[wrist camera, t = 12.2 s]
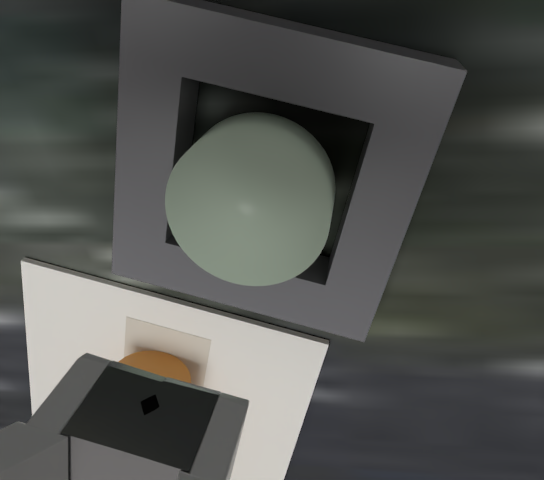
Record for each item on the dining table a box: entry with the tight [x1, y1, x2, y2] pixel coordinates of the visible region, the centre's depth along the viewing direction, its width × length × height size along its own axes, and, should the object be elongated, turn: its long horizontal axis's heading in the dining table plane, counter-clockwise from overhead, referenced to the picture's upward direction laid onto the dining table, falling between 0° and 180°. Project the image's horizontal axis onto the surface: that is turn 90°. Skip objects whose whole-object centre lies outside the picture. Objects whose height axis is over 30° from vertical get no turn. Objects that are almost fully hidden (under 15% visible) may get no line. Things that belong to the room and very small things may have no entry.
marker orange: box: [119, 351, 191, 383], centre depth 25 cm, size 12×4×4 cm, turn 169°
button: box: [165, 112, 336, 286], centre depth 16 cm, size 5×5×2 cm
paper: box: [21, 257, 329, 480], centre depth 26 cm, size 16×14×1 cm
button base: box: [112, 0, 467, 342], centre depth 17 cm, size 10×10×2 cm
